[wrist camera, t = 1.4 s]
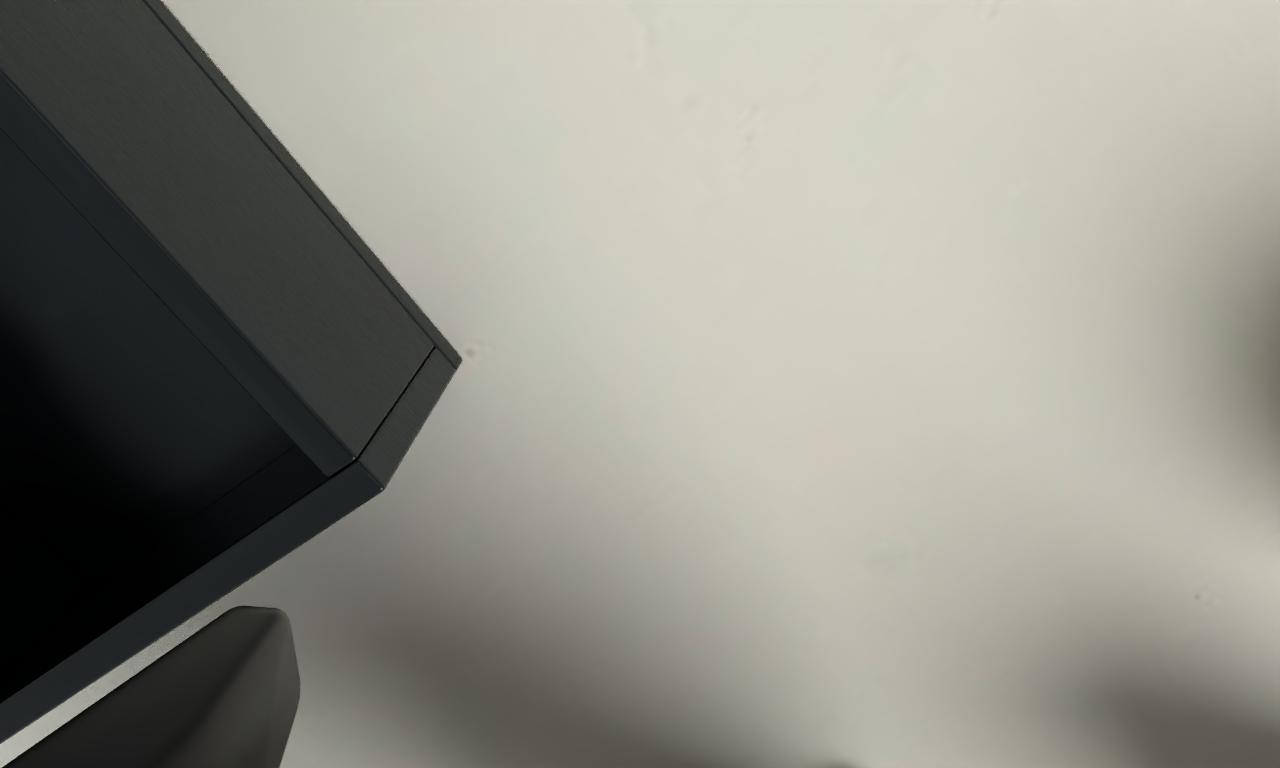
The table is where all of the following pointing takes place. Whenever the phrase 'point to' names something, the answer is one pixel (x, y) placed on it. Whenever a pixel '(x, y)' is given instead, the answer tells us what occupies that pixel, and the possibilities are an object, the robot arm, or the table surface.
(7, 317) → the open black box
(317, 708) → the table surface
